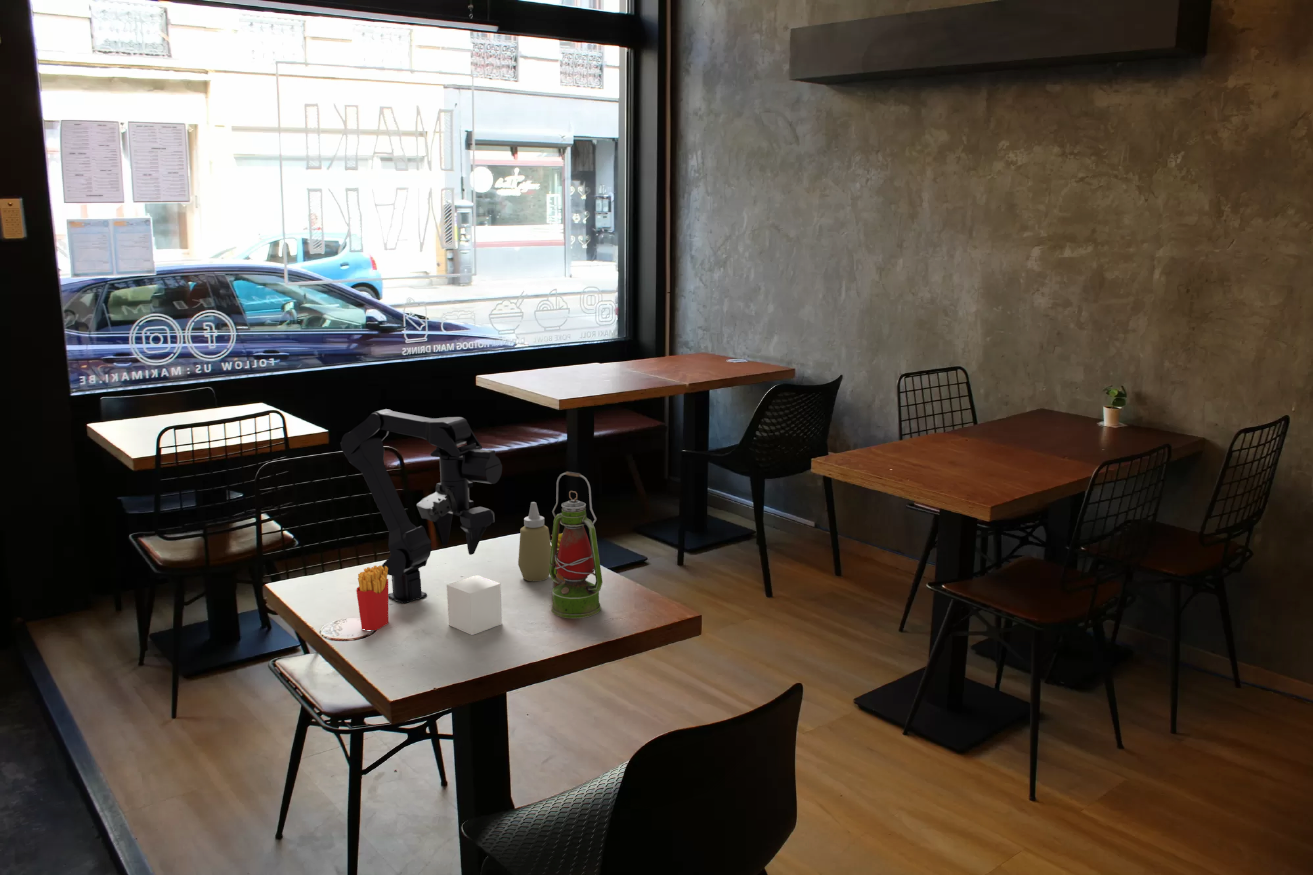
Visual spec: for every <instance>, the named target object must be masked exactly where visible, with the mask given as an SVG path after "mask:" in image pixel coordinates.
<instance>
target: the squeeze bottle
mask: <svg viewBox="0 0 1313 875" xmlns="http://www.w3.org/2000/svg"><path fill="white" fill-rule="evenodd" d="M529 506H530V507H529V512H528V516H525V517H524V518H523V525H524V526H522V527H521V528H520V530H519V531H520V533H519V547H518V558H517V559H518V561H517V562H518V564H517V565H518V568H519V571H520V573H521V576H522V578H523V579H524V581H528V582H540V581H541V582H542V581H545V580H547V579H548V578H549V577H550V573H549V564H550V555H551V551H550V550H551V545H552V543H551V536H550V530H549V527H548V526H547V525H545V517H544V516H542V515H540V513H539V508H538V505H537V502H535V501H531V502H530V505H529Z"/></svg>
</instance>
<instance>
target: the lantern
mask: <svg viewBox="0 0 1313 875" xmlns="http://www.w3.org/2000/svg"><path fill="white" fill-rule="evenodd" d="M564 475H566V476H569V477H576V478H582V479H583V480H585V482H586V484H587V487H588V494H589V495H588V496H589V497H588V498H589V510H590V512H591V514H592V517H593V519H594V520H593V521H592V520H591V519H589V518H588V517H587V511H586V510H587V508H586V505H587V504H586V503H585V502H583V501H580V500H578V493H577V491H573V490H570V491H569V492H568V497H569V499H570V500H568V501H565V502H562V503H561V507H562V508H561V512H560V513H557V514H556V513H555V511H556V509H557V507H558V504H559V482H560V479H561V478H562V476H564ZM571 493H575V494H576V495H575V496H576V497H575V498H574V499H573V498H572V497H571ZM555 494H556V497H555V499H556V501H555V502H556V503H555V505H554V507H553V509H552V511H551V512H552V515H553V517H554V519H553V526H552V534H551V537H552V538H551V555H550V564H549V573H550V574H549V577H550V580H551V581H552V582H554V583H555V584H557V585H555V586H554V587H553V588H552V591H551V593H552V597H551V598H552V604H551V613H553V615H554V616H558V617H560V618H566V619H584V618H588V617H593V616H594V614H595V615H597V614H598V613H600V611H601V609H602V607H601V603H600V591H601V589H602V586H603V576H602V569H601V563H600V562H601V561H600V555H599V554H600V553H599V548H598V541H597V540H598V539H597V533H596V528H595V526H594V525H595V523H596V521H597V517H596V515H595V513H594V510H593V504H592V490H591V485H590V482H589V481H588V479H587V477H585V476H584V475H582V474H581V473H580V472H572V471H565V472H563V473H561V474H559V476H558V477H557V480H556V493H555ZM561 525H562V526H564V529H563V531H562V535H561V539H560V541H559V534H560V526H561ZM585 526H587V528H588V532H589V533H588V534H589V536H588V534H587V531H586V528H585ZM558 545H559V547H558ZM557 574H558V575H560V577H562V579H563V580H562V579H560V578H559V577H557V576H558V575H557ZM590 575H593V576H595V583H592V582H590V581H588V580H587V578H588V577H589V576H590Z"/></svg>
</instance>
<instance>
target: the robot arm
mask: <svg viewBox="0 0 1313 875" xmlns="http://www.w3.org/2000/svg"><path fill="white" fill-rule="evenodd" d="M389 433H395V434H401V435H405V436H411V437H415V438H420V439H423V440H425V441H427V442H428V443H429V444H430V445H432V446H434V447H435V449H434V450H433V451H432V452H430V453H429V454H430V456H431V457H432V458H433V457H435V458H439V472H440V474H439V475H440V477H439V478H440V482H438V483H436V485H435V492H433V493H431V494H429V495H427V496H425V497H423V498H422V499H421V500H420V501H418V502H417V503H416V508H417V510H418V512H419V515H420V518H421V519H423V520H424V519H425V520H428V521H430V522H431V523H432V524H433V526H434V527H435V530H436V532H437V536H438V537H439V540H440V542H441V545H442V546H447V545H448V543H449V539H450V535H451V527H452V526H451V525H452V520H453V515H454V516H457V517H459V521H460V523H461V525H460V528H461V529H462V530H463V531H464V532H465V537H466V538H465V539H466V545H467V546H466V547H467V553H468V555H471V556H472V555H474V554H475V552H476V551H477V548H478V546H479V543H480V541H481V539H482V536H483V535H484V533H485V531H486V529H487V527H489V526H491V524H492V523H495V512H494V511H493V510H492V509H489V508H487V507H483V506H477V507H474V506H475V504H474V503H475V501H474V500H471V499H470V488H473V487H474V483H475V482H477V483H483V484H490V485H492V484H493V485H495V484H496V483H498V482H499V481H500V478H501V476H502V472H503V464H502V462H501V460H500V458H499V457H498V456H497V455H496V450H494V449H483V446H482V444H481V442H480V441H479V440H478V438H477V436H476V435H475V433H474V432H473V430H472V428H471V426H470V424H469V423H468V420H467V419H466V418H464V417H462V416H447V417H439V418H432V417H425V416H421V415H414V414H410V413H404V412H398V411H393V410H391V409H387V408H385V409H380V410H377V411H374V412H372V413H371V414H370V415H369V416H368V417H367V418H366V419H365V420H363V421H362V422H360V423H359V424H358V425H357V426H355V427H354V428H353V429H351V431H349V432H345V433H344V434H343V435H342V438H341V442H340V448H341V452H342V453H343V454H344V455H345V458H346V459H347V462H349V463H350V465H352V466H353V467H354V468H356V469H357V470H359V471H360V472H361V474H362V477H364V480H365V482H366V484H367V486H368V488H369V491H370V493H371V495H372V498H373V499H374V502H375V504H376V506H377V508H378V510H379V512H380V514H381V515H380V516H382V519H383V522H384V524H385V526H386V528H387V530H388V532H389V533H388V546H387V548H388V549H389V554H390V555H389V557H388V558H387V559H386V560H385V561H384V562H383V563H382V564H381V565H382V566H383V568H384V569H385V566H386V567H387V568H388V574H387V576H391V583H392V584H391V585H392V586H391V587H392V592H390V593H388V599H392V600H394V601H397V602H398V603H401V604H406V603H409V602H413V601H415V600H419V599H421V598H425V597H427V596H428V593H427V592H424V591H423V590H422V581H421V580H422V578H421V571H420V569H421V568H423V567H426V566H427V563H428V559H429V558H430V556H431V552H432V550H433V549H432V545H431V543H432V540H431V539H430V538H429V536H428V533H427V530H426V528H425V526H423V525H420V526H416V525H415V524H413V523H412V522H411V520H410V518H409V516H408V513H407V511H406V509H405V507H404V505H403V503H402V501H401V499H400V496H399V494H398V492H397V489H396V487H395V485H394V483H393V480H392V478H391V476H390V474H389V473H388V470H387V468H386V466H385V464H384V460H385V459H384V458H385V447H384V443H383V441H385V438H387V436H389ZM470 507H472V508H470Z"/></svg>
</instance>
